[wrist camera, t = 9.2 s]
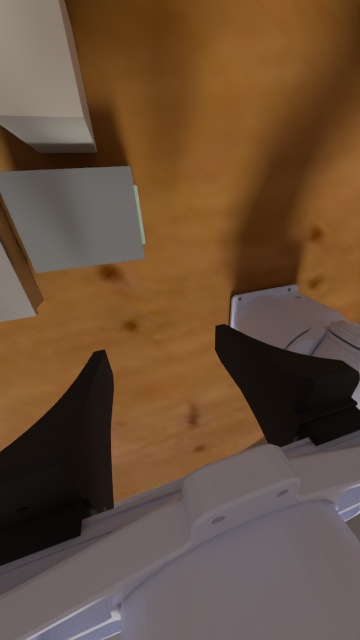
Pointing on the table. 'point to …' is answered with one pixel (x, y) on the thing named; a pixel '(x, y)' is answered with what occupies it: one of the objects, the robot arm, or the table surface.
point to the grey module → (42, 78)
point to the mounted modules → (75, 216)
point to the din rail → (15, 278)
